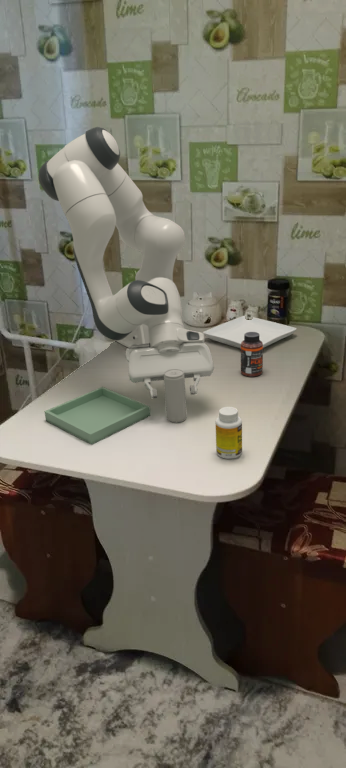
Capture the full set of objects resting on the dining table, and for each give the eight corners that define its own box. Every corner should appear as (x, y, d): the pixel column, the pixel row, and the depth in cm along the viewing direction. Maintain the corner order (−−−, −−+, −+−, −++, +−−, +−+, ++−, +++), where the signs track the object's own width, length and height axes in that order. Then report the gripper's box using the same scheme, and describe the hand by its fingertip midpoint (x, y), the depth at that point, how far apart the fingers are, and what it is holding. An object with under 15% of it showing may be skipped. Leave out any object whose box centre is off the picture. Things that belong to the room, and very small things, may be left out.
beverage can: (184, 424, 152) (182, 377, 147) (164, 423, 153) (161, 376, 148) (188, 414, 156) (186, 368, 151) (168, 413, 157) (165, 368, 152)
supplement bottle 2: (252, 379, 172) (252, 339, 168) (236, 373, 177) (235, 334, 172) (267, 372, 176) (267, 333, 171) (251, 366, 180) (250, 328, 175)
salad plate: (298, 337, 200) (298, 326, 199) (255, 358, 187) (255, 347, 185) (244, 323, 214) (244, 314, 212) (201, 342, 200) (200, 332, 199)
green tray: (45, 420, 157) (44, 411, 156) (103, 395, 168) (102, 386, 167) (91, 444, 145) (90, 434, 144) (150, 415, 156) (149, 406, 155)
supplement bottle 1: (241, 460, 136) (240, 417, 131) (215, 459, 137) (213, 416, 132) (243, 447, 141) (242, 404, 136) (217, 446, 142) (216, 404, 137)
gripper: (124, 340, 152) (129, 394, 148) (210, 332, 154) (217, 387, 149) (125, 350, 158) (129, 404, 154) (207, 343, 160) (215, 396, 155)
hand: (173, 395), depth 151 cm, fingers open, 8 cm apart
